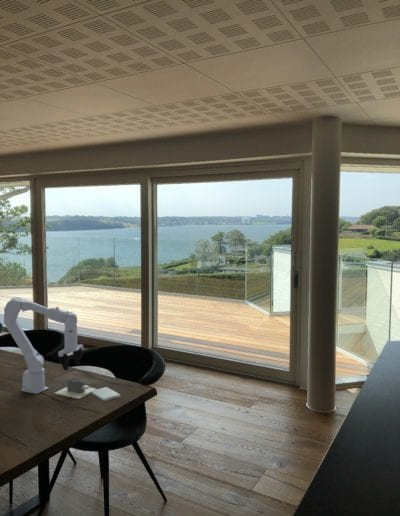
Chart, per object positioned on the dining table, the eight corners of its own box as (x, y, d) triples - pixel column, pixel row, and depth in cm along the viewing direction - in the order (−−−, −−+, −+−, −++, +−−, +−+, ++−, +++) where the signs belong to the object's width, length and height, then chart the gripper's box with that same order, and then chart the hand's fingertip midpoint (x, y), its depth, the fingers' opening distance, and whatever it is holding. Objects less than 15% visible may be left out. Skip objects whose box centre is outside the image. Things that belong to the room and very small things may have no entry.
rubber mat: (54, 393, 193) (54, 392, 193) (73, 385, 204) (73, 384, 203) (78, 399, 187) (78, 397, 187) (96, 390, 198) (96, 388, 198)
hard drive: (90, 391, 194) (104, 398, 184) (106, 386, 199) (120, 394, 190) (90, 394, 194) (104, 402, 184) (106, 390, 199) (120, 397, 190)
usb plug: (65, 390, 195) (65, 379, 195) (71, 387, 199) (71, 377, 198) (84, 394, 190) (84, 383, 190) (90, 391, 194) (90, 380, 194)
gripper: (66, 343, 192) (67, 373, 192) (88, 336, 205) (88, 364, 206) (54, 341, 195) (55, 371, 195) (76, 334, 208) (76, 362, 209)
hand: (71, 367), depth 201 cm, fingers open, 7 cm apart
